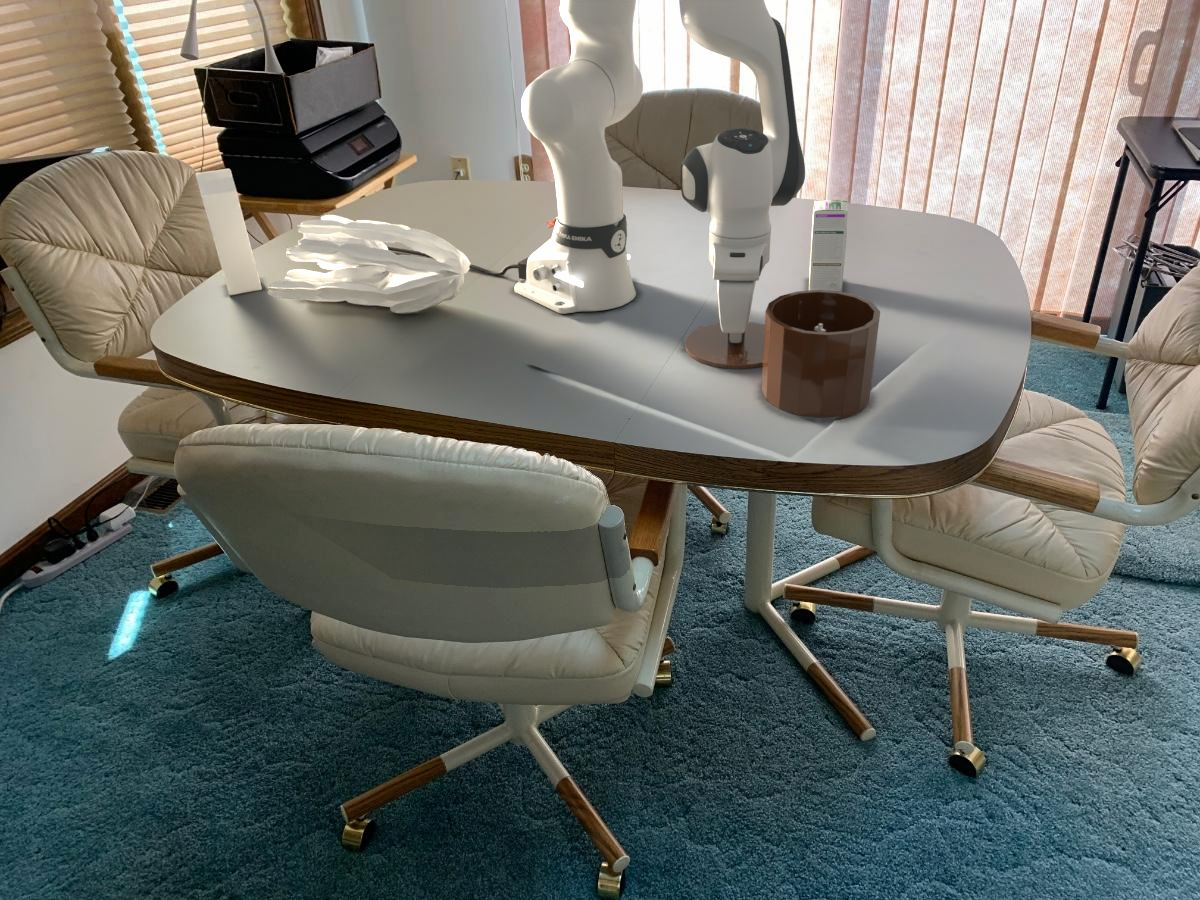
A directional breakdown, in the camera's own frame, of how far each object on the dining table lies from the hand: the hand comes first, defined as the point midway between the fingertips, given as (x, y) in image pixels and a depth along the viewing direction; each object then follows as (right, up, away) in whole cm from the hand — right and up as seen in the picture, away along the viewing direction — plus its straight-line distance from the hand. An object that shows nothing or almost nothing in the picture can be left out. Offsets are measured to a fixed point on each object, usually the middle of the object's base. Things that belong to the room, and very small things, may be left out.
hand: (736, 335), depth 140 cm
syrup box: (+19, +11, +21) cm, 30 cm away
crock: (+9, -10, -12) cm, 18 cm away
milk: (-89, +13, +34) cm, 96 cm away
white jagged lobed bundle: (-61, +8, +23) cm, 66 cm away
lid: (0, -1, +1) cm, 2 cm away
